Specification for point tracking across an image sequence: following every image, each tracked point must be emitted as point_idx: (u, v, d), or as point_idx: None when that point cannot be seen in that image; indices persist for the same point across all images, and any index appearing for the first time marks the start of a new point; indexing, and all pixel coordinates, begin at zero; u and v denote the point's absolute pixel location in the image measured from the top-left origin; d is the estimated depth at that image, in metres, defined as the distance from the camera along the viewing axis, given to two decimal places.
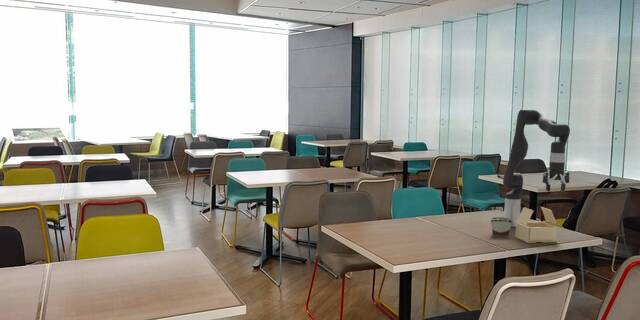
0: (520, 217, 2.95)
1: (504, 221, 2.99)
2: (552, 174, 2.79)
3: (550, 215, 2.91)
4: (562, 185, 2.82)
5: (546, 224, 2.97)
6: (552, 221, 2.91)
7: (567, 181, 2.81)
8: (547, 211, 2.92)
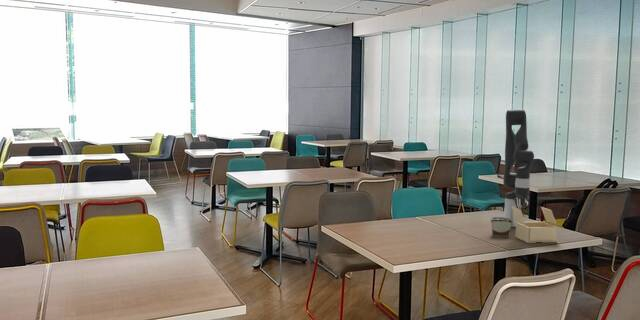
0: (516, 217, 2.94)
1: (504, 221, 2.99)
2: None
3: (550, 215, 2.91)
4: None
5: (546, 224, 2.97)
6: (552, 221, 2.91)
7: None
8: (547, 211, 2.92)
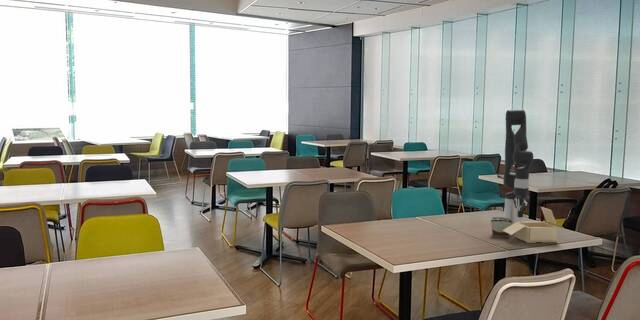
0: None
1: (504, 221, 2.99)
2: None
3: (550, 215, 2.91)
4: None
5: (546, 224, 2.97)
6: (552, 221, 2.91)
7: None
8: (547, 211, 2.92)
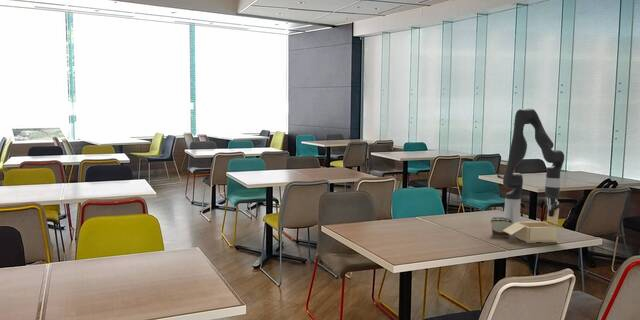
0: None
1: (504, 221, 2.99)
2: None
3: (555, 214, 2.91)
4: None
5: (546, 224, 2.97)
6: (554, 220, 2.92)
7: None
8: (554, 210, 2.92)
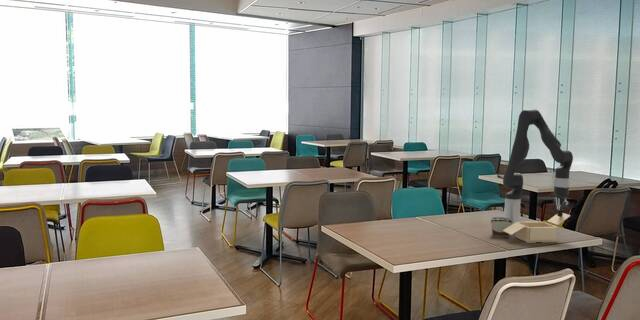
0: None
1: (504, 221, 2.99)
2: None
3: (562, 218, 2.92)
4: None
5: (546, 224, 2.97)
6: (556, 222, 2.92)
7: None
8: (563, 215, 2.93)
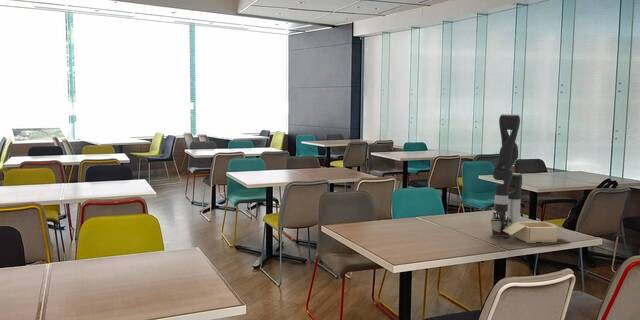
0: None
1: None
2: None
3: (562, 229, 2.92)
4: None
5: (546, 224, 2.97)
6: (556, 225, 2.92)
7: None
8: (563, 230, 2.94)
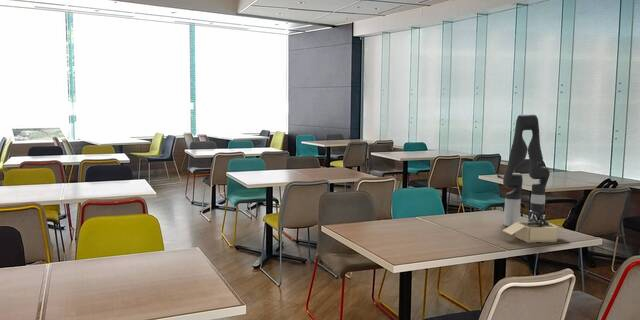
0: None
1: None
2: None
3: (562, 229, 2.92)
4: None
5: None
6: (556, 225, 2.92)
7: None
8: (563, 230, 2.94)
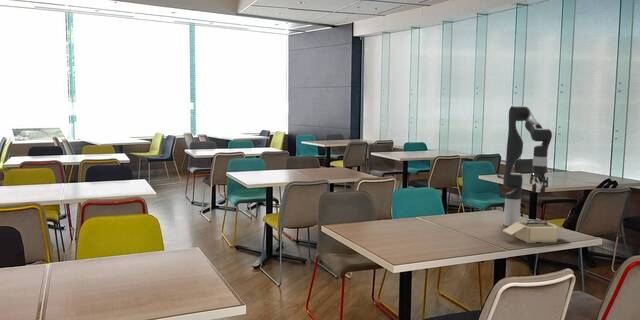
0: None
1: (540, 224, 2.91)
2: None
3: (562, 229, 2.92)
4: (534, 187, 2.95)
5: None
6: (556, 225, 2.92)
7: None
8: (563, 230, 2.94)
